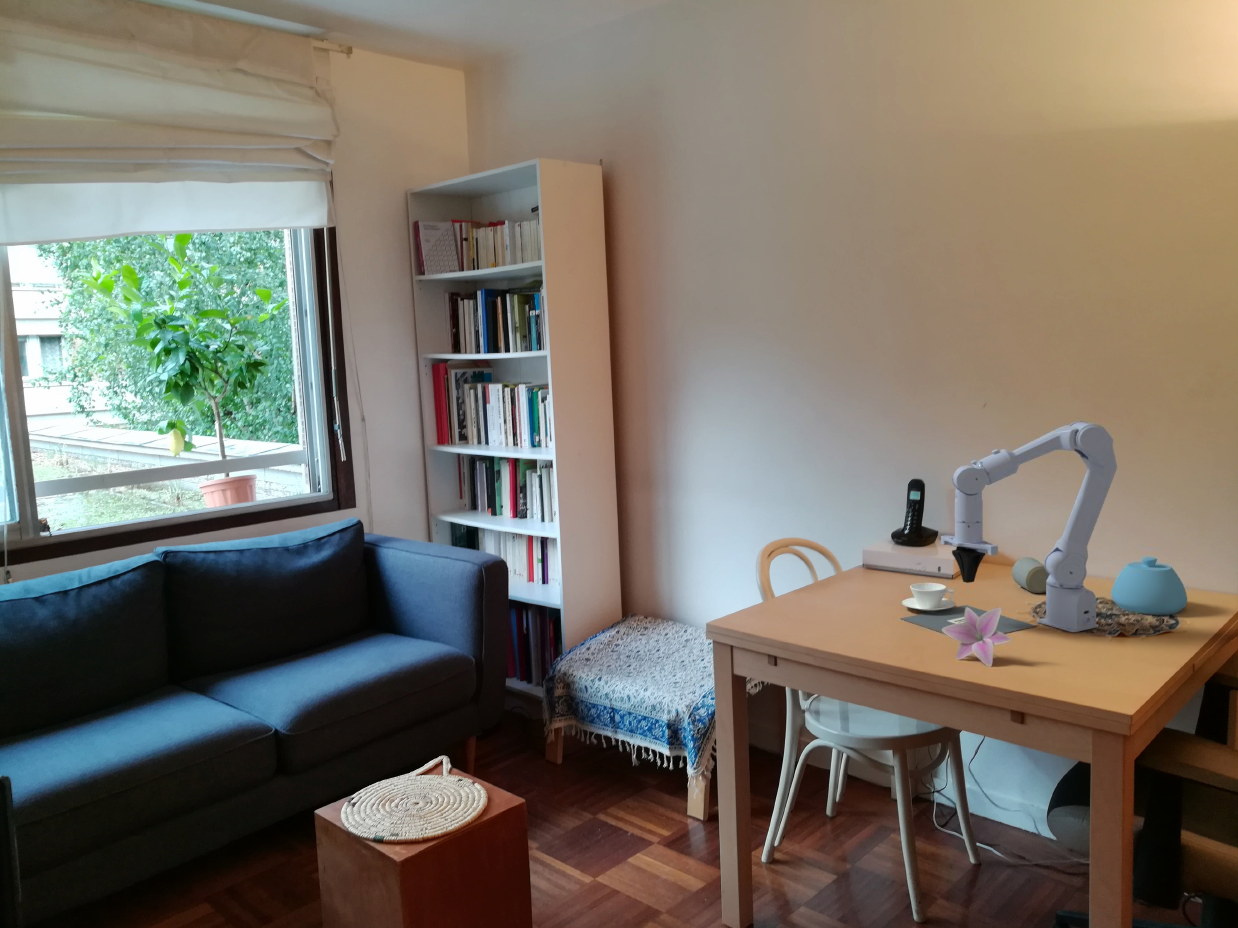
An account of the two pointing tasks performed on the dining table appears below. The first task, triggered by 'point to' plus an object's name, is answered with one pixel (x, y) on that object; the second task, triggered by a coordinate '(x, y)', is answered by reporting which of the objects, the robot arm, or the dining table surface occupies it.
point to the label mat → (962, 620)
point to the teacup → (929, 597)
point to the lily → (977, 634)
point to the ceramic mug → (1030, 574)
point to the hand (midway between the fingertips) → (968, 581)
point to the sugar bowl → (1149, 588)
